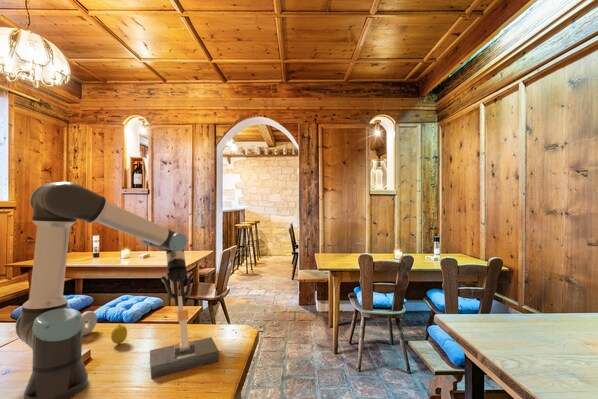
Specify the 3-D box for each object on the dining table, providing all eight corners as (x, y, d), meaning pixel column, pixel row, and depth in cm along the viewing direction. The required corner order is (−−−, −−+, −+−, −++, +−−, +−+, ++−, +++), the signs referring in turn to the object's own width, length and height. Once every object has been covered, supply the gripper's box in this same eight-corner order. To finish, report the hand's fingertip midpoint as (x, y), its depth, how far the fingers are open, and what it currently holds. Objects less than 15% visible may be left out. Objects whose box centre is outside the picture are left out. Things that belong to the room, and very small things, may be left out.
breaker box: (151, 378, 96) (151, 360, 96) (149, 361, 106) (150, 344, 106) (218, 361, 107) (218, 345, 107) (211, 347, 117) (211, 332, 117)
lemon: (130, 341, 121) (130, 322, 121) (120, 348, 116) (120, 327, 116) (117, 340, 122) (117, 321, 122) (107, 347, 116) (107, 327, 116)
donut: (80, 340, 122) (80, 316, 122) (72, 339, 122) (73, 315, 122) (98, 329, 132) (99, 307, 132) (91, 329, 132) (92, 307, 132)
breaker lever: (179, 350, 104) (177, 311, 110) (178, 351, 106) (177, 312, 112) (190, 348, 106) (187, 309, 112) (189, 349, 108) (186, 311, 114)
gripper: (190, 266, 136) (196, 314, 121) (159, 269, 130) (162, 319, 115) (192, 256, 132) (199, 305, 117) (160, 259, 125) (163, 310, 110)
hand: (180, 312), depth 116 cm, fingers closed
